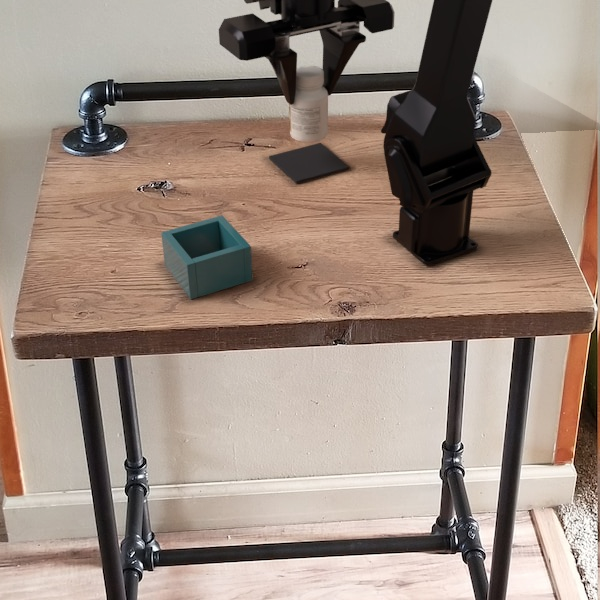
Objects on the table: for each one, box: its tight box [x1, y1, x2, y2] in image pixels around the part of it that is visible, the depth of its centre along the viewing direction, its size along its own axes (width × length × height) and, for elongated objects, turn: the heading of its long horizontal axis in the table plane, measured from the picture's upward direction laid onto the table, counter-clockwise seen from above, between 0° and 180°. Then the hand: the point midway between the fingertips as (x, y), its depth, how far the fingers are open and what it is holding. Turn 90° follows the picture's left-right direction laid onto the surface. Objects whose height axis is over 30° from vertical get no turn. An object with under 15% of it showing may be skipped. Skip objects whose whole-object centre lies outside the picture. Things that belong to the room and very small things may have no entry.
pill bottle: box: [288, 65, 329, 143], centre depth 111 cm, size 4×4×8 cm
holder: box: [160, 215, 254, 300], centre depth 96 cm, size 7×7×4 cm
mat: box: [268, 142, 351, 185], centre depth 115 cm, size 7×7×1 cm
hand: (308, 98), depth 110 cm, fingers closed on pill bottle, 4 cm apart
